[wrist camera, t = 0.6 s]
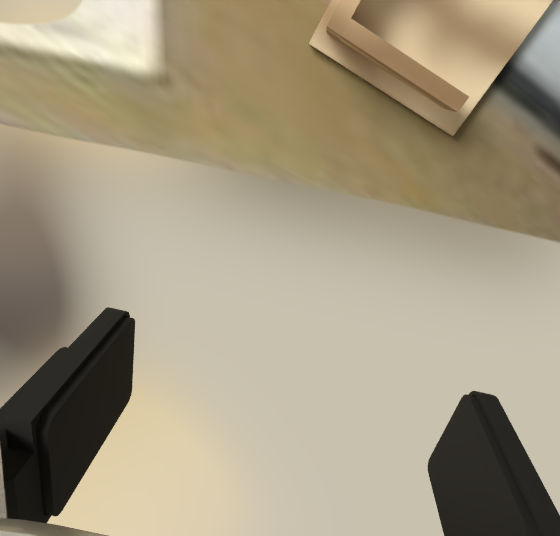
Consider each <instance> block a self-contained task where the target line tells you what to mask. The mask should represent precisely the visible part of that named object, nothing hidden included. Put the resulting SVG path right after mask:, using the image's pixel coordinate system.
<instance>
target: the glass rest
mask: <svg viewBox="0 0 560 536" xmlns="http://www.w3.org/2000/svg"><path fill="white" fill-rule="evenodd" d="M552 1H553V0H331V2H330V4H329V6H328V8H327V10H326V12H325V13H324V15H323V17H322V19H321V21H320V23H319V25H318V27H317V29H316V31H315V33H314V35H313V37H312V39H311V40H310V42H309V45H311V46H313V47H314V48H316V49H317V50H319V51H320V52H322V53H323V54H325V55H327V56H328V57H330V58H331V59H333V60H334V61H336V62H337V63H339V64H341V65H342V66H344V67H345V68H347V69H348V70H350V71H351V72H353V73H355V74H356V75H358V76H359V77H361V78H362V79H364V80H365V81H367V82H368V83H370V84H372V85H373V86H375V87H376V88H378V89H379V90H381V91H382V92H384V93H386V94H387V95H389V96H390V97H392V98H393V99H395V100H396V101H398V102H400V103H401V104H403V105H404V106H406V107H407V108H409V109H410V110H412V111H414V112H415V113H417V114H418V115H420V116H421V117H423V118H424V119H426V120H428V121H429V122H431V123H432V124H434V125H435V126H437V127H438V128H440V129H442V130H443V131H445V132H446V133H448V134H449V135H451V136H453V135H454V134H455V133H456V131H457V130H458V129H459V127H460V126H461V125H462V123H463V122H464V121H465V119H466V118H467V116H468V115H469V114H470V112H471V111H472V110H473V108H474V107H475V106H476V104H477V103H478V101H479V100H480V99H481V97H482V96H483V95H484V93H485V92H486V91H487V89H488V88H489V86H490V85H491V84H492V82H493V81H494V80H495V78H496V77H497V76H498V74H499V73H500V71H501V70H502V69H503V67H504V66H505V65H506V63H507V62H508V61H509V59H510V58H511V57H512V55H513V54H514V52H515V51H516V50H517V48H518V47H519V46H520V44H521V43H522V42H523V40H524V39H525V37H526V36H527V35H528V33H529V32H530V31H531V29H532V28H533V27H534V25H535V24H536V22H537V21H538V20H539V18H540V17H541V16H542V14H543V13H544V12H545V10H546V9H547V8H548V6H549V5H550V3H551V2H552Z"/></svg>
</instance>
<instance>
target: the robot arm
mask: <svg viewBox="0 0 560 536" xmlns="http://www.w3.org/2000/svg"><path fill="white" fill-rule="evenodd" d="M134 333H135V320H134V319H133V318H130V315H129V312H127V311H122V310H118V309H114V308H106V309H105V310H104V311H103V312H102V313H101V314H100V315H99V316H98V317H97V318H96V319H95V320H94V321H93V322H92V323H91V324H90V325H89V327H87V329H86V330H85V331H84V332H83V333H82V334H81V335H80V336H79V337H78V338H77V339H76V340H75V341H74V342H73V343H72V344H71V345H70V346H69V347H68V348H66V347H64V348H61V349H59V350H58V351H57V352H56V353H55V354H54V355H53V356H52V357H51V358H50V359H49V360H48V361H47V362H46V363H45V364H44V365H43V366H42V367H41V368H40V369H39V370H38V371H37V372H36V373H35V374H34V375H33V376H32V377H31V378H30V379H29V380H28V381H27V382H26V383H25V384H24V385H23V386H22V387H21V388H20V389H19V390H18V391H17V392H16V393H15V394H14V395H13V396H12V397H11V398H10V399H9V400H8V401H7V402H6V403H5V404H4V406H3V407H1V408H0V536H107V535H102V534H98V533H92V532H88V531H83V530H78V529H74V528H69V527H64V526H58V525H53V524H47V522H48V520H49V518H50V517H51V515H53V516H58V515H59V514H60V513H61V511H62V510H63V508H64V507H65V505H66V503H67V502H68V500H69V499H70V497H71V495H72V493H73V492H74V490H75V489H76V487H77V485H78V484H79V482H80V480H81V479H82V477H83V476H84V474H85V472H86V470H87V469H88V467H89V466H90V464H91V462H92V460H93V459H94V457H95V456H96V454H97V453H98V451H99V449H100V448H101V446H102V444H103V443H104V441H105V440H106V438H107V436H108V435H109V433H110V431H111V430H112V428H113V426H114V425H115V423H116V422H117V420H118V418H119V417H120V415H121V413H122V412H123V410H124V408H125V407H126V405H127V403H128V402H129V399H130V396H131V392H132V375H133V356H134V355H133V354H134ZM428 473H429V477H430V481H431V485H432V489H433V493H434V497H435V501H436V504H437V508H438V512H439V517H440V520H441V524H442V528H443V532H444V536H560V515H559V513H558V512H557V510H556V508H555V506H554V504H553V502H552V500H551V499H550V496H549V495H548V493H547V491H546V489H545V487H544V485H543V483H542V481H541V479H540V477H539V476H538V474H537V472H536V470H535V468H534V466H533V464H532V462H531V460H530V459H529V457H528V455H527V453H526V451H525V449H524V447H523V445H522V444H521V442H520V440H519V438H518V436H517V434H516V432H515V430H514V428H513V426H512V425H511V423H510V421H509V419H508V417H507V415H506V413H505V411H504V409H503V407H502V406H501V404H500V402H499V400H498V398H497V397H496V396H494V395H490V394H485V393H481V392H477V391H472V392H470V394H469V395H464V396H463V397H462V398H461V400H460V402H459V404H458V406H457V408H456V410H455V411H454V413H453V415H452V417H451V419H450V421H449V423H448V425H447V427H446V429H445V431H444V432H443V434H442V436H441V438H440V440H439V442H438V443H437V446H436V447H435V449H434V451H433V453H432V455H431V457H430V459H429V462H428Z"/></svg>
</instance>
